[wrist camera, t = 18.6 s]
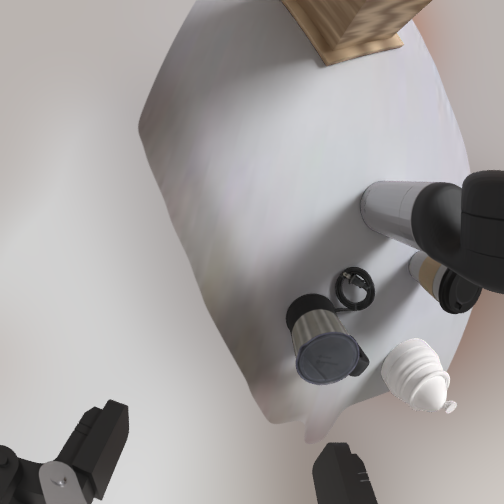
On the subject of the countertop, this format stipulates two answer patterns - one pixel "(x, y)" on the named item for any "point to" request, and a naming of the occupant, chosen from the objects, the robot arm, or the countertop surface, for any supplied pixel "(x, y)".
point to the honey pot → (417, 376)
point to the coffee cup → (444, 284)
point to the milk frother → (328, 333)
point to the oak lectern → (353, 25)
